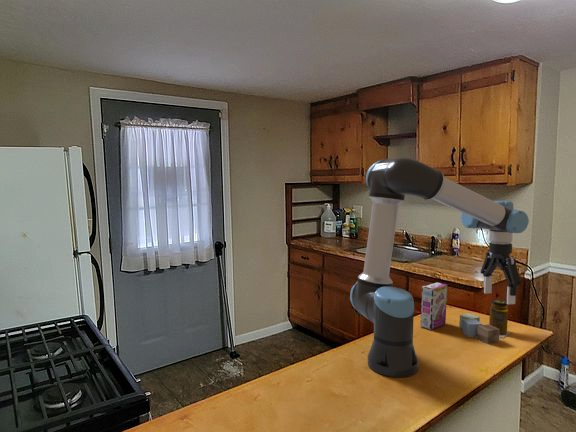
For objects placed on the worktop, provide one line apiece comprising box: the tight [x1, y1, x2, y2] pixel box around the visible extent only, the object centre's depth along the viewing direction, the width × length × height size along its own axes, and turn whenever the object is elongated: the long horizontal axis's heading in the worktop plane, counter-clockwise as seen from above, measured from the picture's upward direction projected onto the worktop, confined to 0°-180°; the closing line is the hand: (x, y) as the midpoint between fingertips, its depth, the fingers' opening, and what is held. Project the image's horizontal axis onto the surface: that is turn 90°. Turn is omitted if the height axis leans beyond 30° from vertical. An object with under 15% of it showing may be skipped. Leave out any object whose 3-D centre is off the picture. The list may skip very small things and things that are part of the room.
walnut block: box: [476, 323, 500, 345], centre depth 139 cm, size 5×5×5 cm
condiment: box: [488, 299, 511, 339], centre depth 146 cm, size 7×8×12 cm
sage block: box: [458, 312, 481, 329], centre depth 151 cm, size 5×5×5 cm
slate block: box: [461, 319, 483, 338], centre depth 144 cm, size 5×5×5 cm
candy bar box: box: [419, 282, 448, 331], centre depth 153 cm, size 11×5×16 cm, turn 130°
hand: (498, 298), depth 146 cm, fingers open, 13 cm apart
